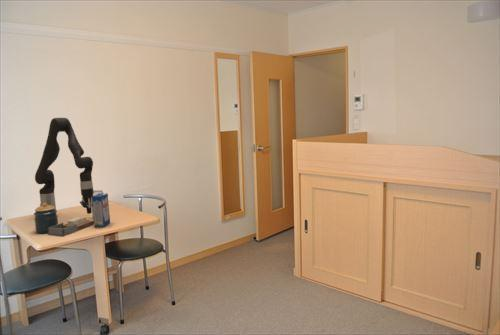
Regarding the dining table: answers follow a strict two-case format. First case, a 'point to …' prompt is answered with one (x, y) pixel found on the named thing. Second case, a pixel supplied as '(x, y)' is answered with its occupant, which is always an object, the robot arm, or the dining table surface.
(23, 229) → the dining table surface
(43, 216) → the canister
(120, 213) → the dining table surface
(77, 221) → the tile
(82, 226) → the board
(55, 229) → the tray
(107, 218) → the milk carton
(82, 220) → the tile
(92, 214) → the milk carton
